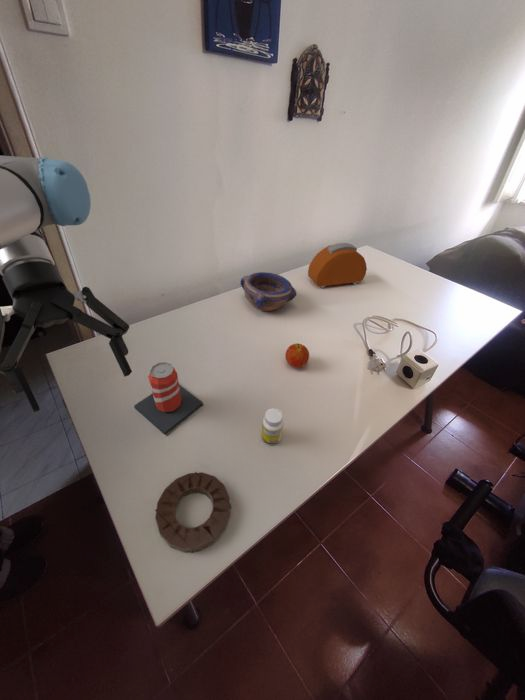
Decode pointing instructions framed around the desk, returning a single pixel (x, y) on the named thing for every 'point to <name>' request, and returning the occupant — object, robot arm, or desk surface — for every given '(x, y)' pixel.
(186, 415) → the mat
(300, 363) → the fruit
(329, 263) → the orange toaster
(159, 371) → the beverage can
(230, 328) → the desk surface
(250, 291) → the bowl
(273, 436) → the supplement bottle
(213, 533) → the socket
